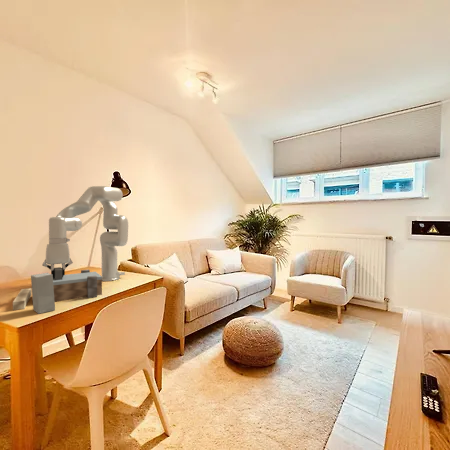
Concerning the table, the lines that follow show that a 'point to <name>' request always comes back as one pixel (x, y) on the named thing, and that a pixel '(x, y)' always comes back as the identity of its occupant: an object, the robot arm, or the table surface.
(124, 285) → the table surface
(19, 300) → the smooth beige tapered object
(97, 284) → the brown wooden box
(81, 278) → the lid
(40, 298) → the skincare box
